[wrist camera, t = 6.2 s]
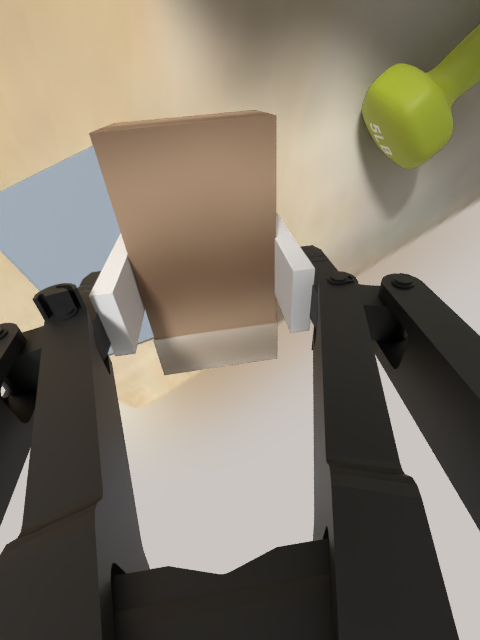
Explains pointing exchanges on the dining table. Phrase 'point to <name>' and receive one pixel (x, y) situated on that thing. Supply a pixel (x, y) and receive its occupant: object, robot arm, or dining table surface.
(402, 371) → the robot arm
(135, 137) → the brown block
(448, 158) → the dining table surface
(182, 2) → the dining table surface
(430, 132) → the dumbbell
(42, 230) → the slate mat
